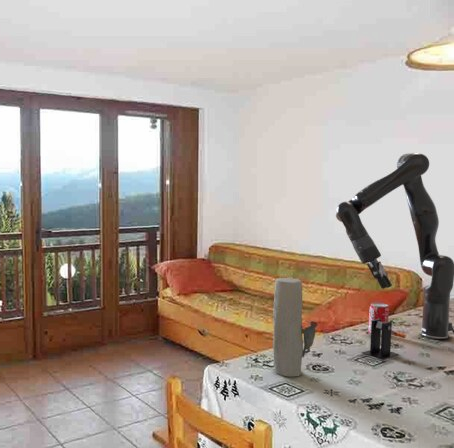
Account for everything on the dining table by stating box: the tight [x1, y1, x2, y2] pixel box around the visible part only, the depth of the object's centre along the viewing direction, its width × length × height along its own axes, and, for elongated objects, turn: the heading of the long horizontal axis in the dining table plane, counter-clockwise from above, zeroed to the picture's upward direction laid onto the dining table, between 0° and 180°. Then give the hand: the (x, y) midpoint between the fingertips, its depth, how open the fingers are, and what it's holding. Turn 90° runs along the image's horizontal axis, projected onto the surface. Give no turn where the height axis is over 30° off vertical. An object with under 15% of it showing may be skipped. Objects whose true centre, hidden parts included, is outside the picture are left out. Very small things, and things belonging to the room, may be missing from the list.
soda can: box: [367, 302, 390, 335], centre depth 200 cm, size 7×7×13 cm
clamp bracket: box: [361, 319, 400, 361], centre depth 175 cm, size 10×8×13 cm
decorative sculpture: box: [272, 277, 318, 378], centre depth 158 cm, size 14×10×30 cm
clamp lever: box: [376, 321, 407, 339], centre depth 177 cm, size 12×7×2 cm, turn 124°
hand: (387, 287), depth 188 cm, fingers open, 8 cm apart
